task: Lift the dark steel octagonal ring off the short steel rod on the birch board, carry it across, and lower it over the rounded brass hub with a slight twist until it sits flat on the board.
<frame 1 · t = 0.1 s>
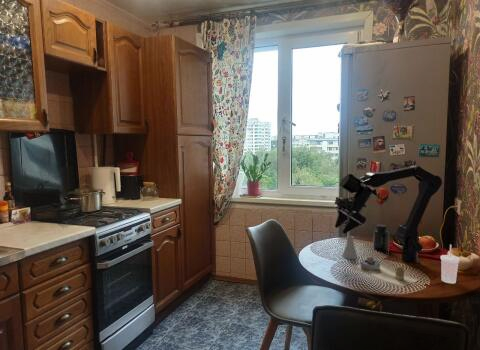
hand: (339, 230, 141), 15 cm above the table, tool tilted 35°, fingers open, 9 cm apart
steel ring: (369, 267, 136), point 1 cm above the table, touching base board
supplement bottle: (380, 250, 161), on the table
flask: (349, 259, 150), on the table
beverage cup: (448, 281, 125), on the table
base board: (383, 275, 131), on the table
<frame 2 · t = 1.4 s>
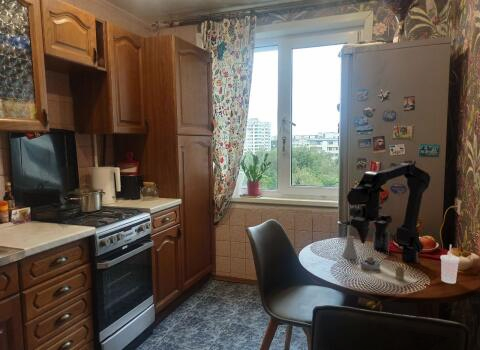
hand: (370, 241, 135), 12 cm above the table, tool pointing down, fingers open, 9 cm apart
nothing on the table moved.
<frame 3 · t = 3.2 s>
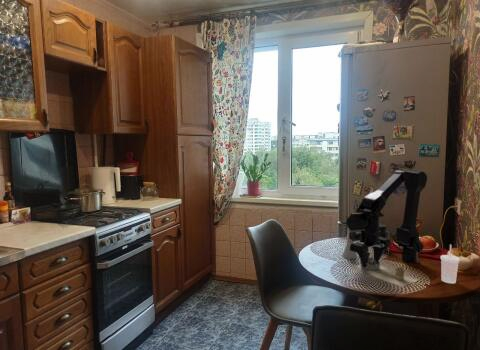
hand: (369, 265, 136), 2 cm above the table, tool pointing down, fingers closed on steel ring, 7 cm apart
steel ring: (369, 267, 136), point 1 cm above the table, touching base board, gripper
everything else where it was.
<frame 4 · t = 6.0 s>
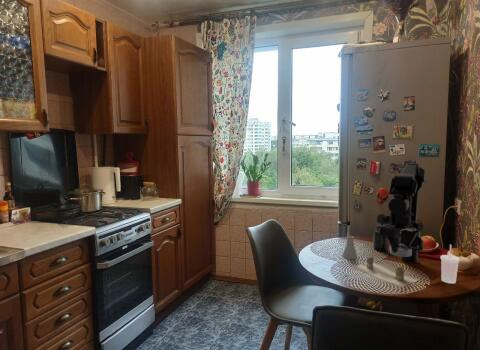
hand: (400, 250, 124), 12 cm above the table, tool pointing down, fingers closed on steel ring, 7 cm apart
steel ring: (400, 253, 124), point 11 cm above the table, touching gripper
everything else where it was.
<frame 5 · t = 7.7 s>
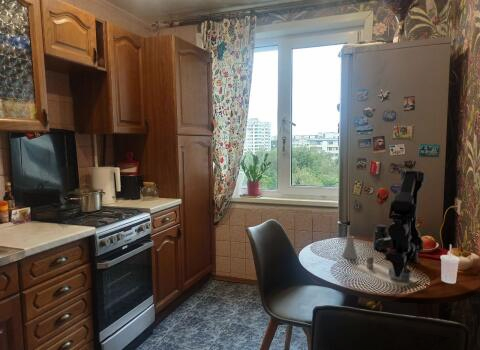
hand: (399, 273, 125), 3 cm above the table, tool pointing down, fingers closed on steel ring, 7 cm apart
steel ring: (399, 276, 125), point 2 cm above the table, touching gripper
everything else where it was.
when the fingers open (3 cm above the table, at t = 8.9 s): steel ring stays where it is, resting on base board.
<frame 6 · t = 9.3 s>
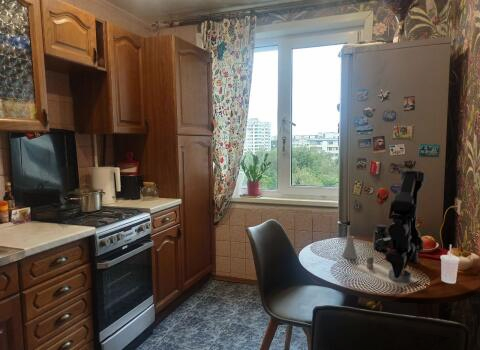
hand: (399, 273, 125), 3 cm above the table, tool pointing down, fingers open, 9 cm apart
steel ring: (399, 278, 125), point 1 cm above the table, touching base board
everything else where it was.
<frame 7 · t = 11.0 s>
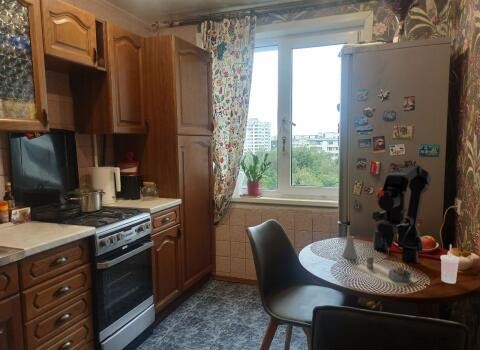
hand: (395, 245, 131), 12 cm above the table, tool pointing down, fingers open, 9 cm apart
nothing on the table moved.
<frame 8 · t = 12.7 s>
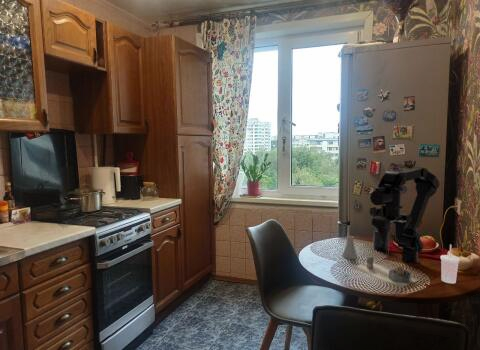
hand: (390, 240, 136), 12 cm above the table, tool pointing down, fingers open, 9 cm apart
nothing on the table moved.
at the end: steel ring 0.1 cm from the target spot on the base board, point 1.0 cm above the base board's base; the gripper is holding nothing; steel ring tilted 0° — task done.
